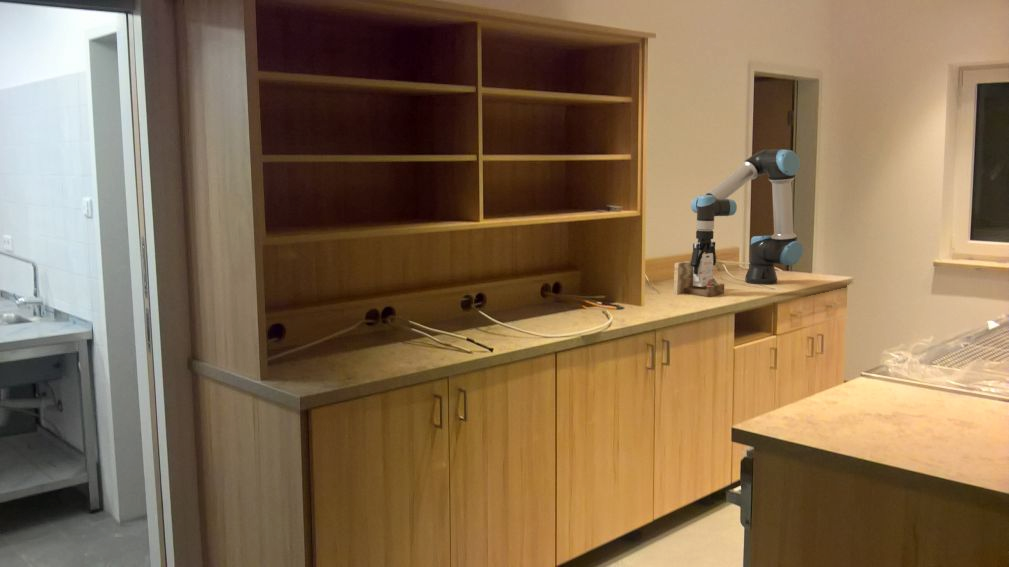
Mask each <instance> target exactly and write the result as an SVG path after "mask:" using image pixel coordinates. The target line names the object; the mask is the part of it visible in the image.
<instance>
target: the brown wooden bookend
mask: <svg viewBox="0 0 1009 567" xmlns="http://www.w3.org/2000/svg"><path fill="white" fill-rule="evenodd" d="M673 272H674V273H673V295H681V294H682V295H683V294H686V295H691V296H692V295H693V296H699V297H705V298H712V297H718V296H722V295H723V296H724V295H725V284H724V283H721V284H718V285H715V286H713V285H710V286H704V287H698V286H693V266H691V260H688V261H680V262H674V271H673Z"/></svg>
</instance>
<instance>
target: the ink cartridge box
mask: <svg viewBox="0 0 1009 567" xmlns="http://www.w3.org/2000/svg"><path fill="white" fill-rule="evenodd" d="M707 255H708V256H709V257H708V258H706V256H707ZM699 267H700V282H697V281H694V267H693V286H698V287H704V286H708V287H709V286H713V285H712V284H713V283H712V281H713V279H714V265H713V253H708V254H705V253H703V254H702V258H701V261H700V265H699Z"/></svg>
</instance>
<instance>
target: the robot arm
mask: <svg viewBox="0 0 1009 567" xmlns="http://www.w3.org/2000/svg"><path fill="white" fill-rule="evenodd" d="M800 167H801V161H800V158H799V156H798V154H797V153H795V151H793V150H791V149H783V148H782V149H781V148H780V149H763V150H760V151H758V152H756V153H754V154H753V155H751V156H749V157H748V158H747V159H746V160H744V161H742V162H741V164H740V167H739V168H738V169H736V170H735V171H734V172H733V173H731V174H730V175H729V176H727V177H726V178H725V179H723V181H721V182H720V183H718V184H717V185H716V186H714V188H712V189H711V190H709V191H708V192H706V194H701V195H699V196H698V197H695V198H693V199H692V200H691V202H690V207H691V208H690V209H691V210H692V212H693V213H695V214H696V229H697V230H696V231H695V238H696V239H697V243H693V244H692V254H691V259H690V261H691V266H693V267H694V281H697V282H700V267H699V265H700V261H701V259H702V254H708V253H713V266H715V265H716V263H717V257H716V256H717V255H716V241H712V240H713V239H714V233H715V232H714V229H715V217H731V216H733V215H736V213H737V209H738V208H737V207H738V206H737V203H736V201H735V200H734V199H730V198H729V197H730V196H732V195H733V194H734V193H735V192H737V191H738V190H739V189H741V188H742V187H743V186H744V185H745V184H747V183H748V182H749V181H751V180H755V179H757V178H758V177H760V176H763V175H767V177H768V181H769V182H770V183H771V185H772V186H771V187H772V189H771V190H772V210H773V211H772V212H773V213H772V214H773V234H772V235H771V234H770V235H755V236H752V237H751V239H750V244H749V245H750V249H749V252H750V253H749V266H748V269H747V271H746V275H745V279H744V280H745V281H744V282H745V283H748V284H753V285H754V284H755V285H775V284H778V276H777V272H776V268H775V264H778V265H783V266H793V265H795V264H797V263H798V262H799V261H800V259H801V257H802V256H803V252H804V250H803V248H804V247H803V244H802V243H801V242H799V241H798V236H797V234H795V233H794V221H793V220H794V217H793V216H794V214H793V212H794V211H793V190H792V189H793V188H792V182H793V181H794V179H795V178H796V176H795V175H796V174H797V173H798V172H799V170H800ZM708 257H709V256H708V255H707V256H706V258H708Z"/></svg>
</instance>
